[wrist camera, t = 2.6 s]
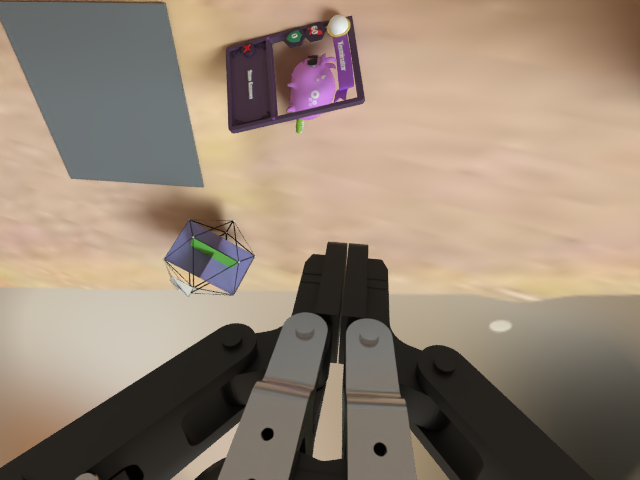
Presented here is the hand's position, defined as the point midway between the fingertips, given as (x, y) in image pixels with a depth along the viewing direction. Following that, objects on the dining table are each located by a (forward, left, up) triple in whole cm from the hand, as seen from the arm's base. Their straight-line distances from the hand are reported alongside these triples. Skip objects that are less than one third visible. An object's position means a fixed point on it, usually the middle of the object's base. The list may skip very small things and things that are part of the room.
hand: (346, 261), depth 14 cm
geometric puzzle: (+13, +12, -18) cm, 25 cm away
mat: (+20, 0, -17) cm, 27 cm away
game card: (+9, -1, -16) cm, 18 cm away
